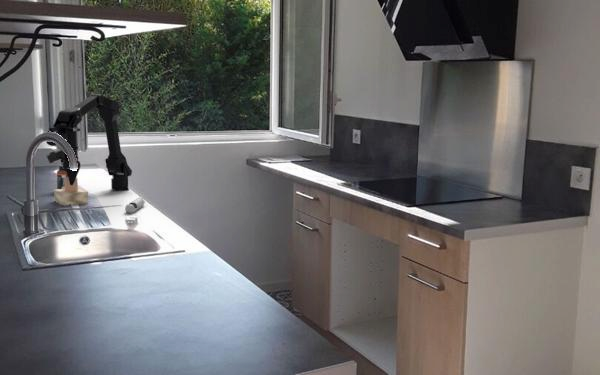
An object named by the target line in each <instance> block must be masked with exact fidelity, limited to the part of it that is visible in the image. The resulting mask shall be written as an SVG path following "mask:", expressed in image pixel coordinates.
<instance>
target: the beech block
mask: <svg viewBox="0 0 600 375" xmlns="http://www.w3.org/2000/svg"><path fill="white" fill-rule="evenodd" d="M53 191H54V192H53V193H54V195H53V196H54V202H55V201H56V202H55V203H57V202H58V203H59V204H58V203H57V204H58V205H60V204H61V205H64V206H70V205H69V204H76V205H83V204H84V205H85V204H89V191H87V190H85V189H84V188H82V187H78V191H73V192H65V189H57V188H56V189H54V190H53ZM61 205H60V206H61Z"/></svg>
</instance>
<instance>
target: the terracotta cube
mask: <svg viewBox="0 0 600 375" xmlns="http://www.w3.org/2000/svg"><path fill="white" fill-rule="evenodd" d="M64 181H65V192H73V191H78V188H79V187H78V177H76V179H75V182H74V184H73V185H70V182H69V178H68V177H64Z"/></svg>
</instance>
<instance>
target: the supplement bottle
mask: <svg viewBox="0 0 600 375" xmlns="http://www.w3.org/2000/svg"><path fill="white" fill-rule="evenodd" d="M58 168H59V169H58V170H57V171H56V186H57V188H56V189H65V181H64V177H67V173H66V171H65V170H64V169H63V166H62V165H61V164H59V165H58Z"/></svg>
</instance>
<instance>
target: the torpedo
mask: <svg viewBox="0 0 600 375" xmlns="http://www.w3.org/2000/svg"><path fill="white" fill-rule="evenodd" d="M139 192H141V189H140V190H139ZM146 203H147V202H146V200H144V198H143V197H138V198H136V199H134V200H133V201H131V202H129V203H128V204H126V205H125V207H124V208H125V213H127V214H133V213H135V212H136V211H138V210H139V209H141V208H142V207H144V205H145V204H146ZM132 212H133V213H132Z"/></svg>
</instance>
